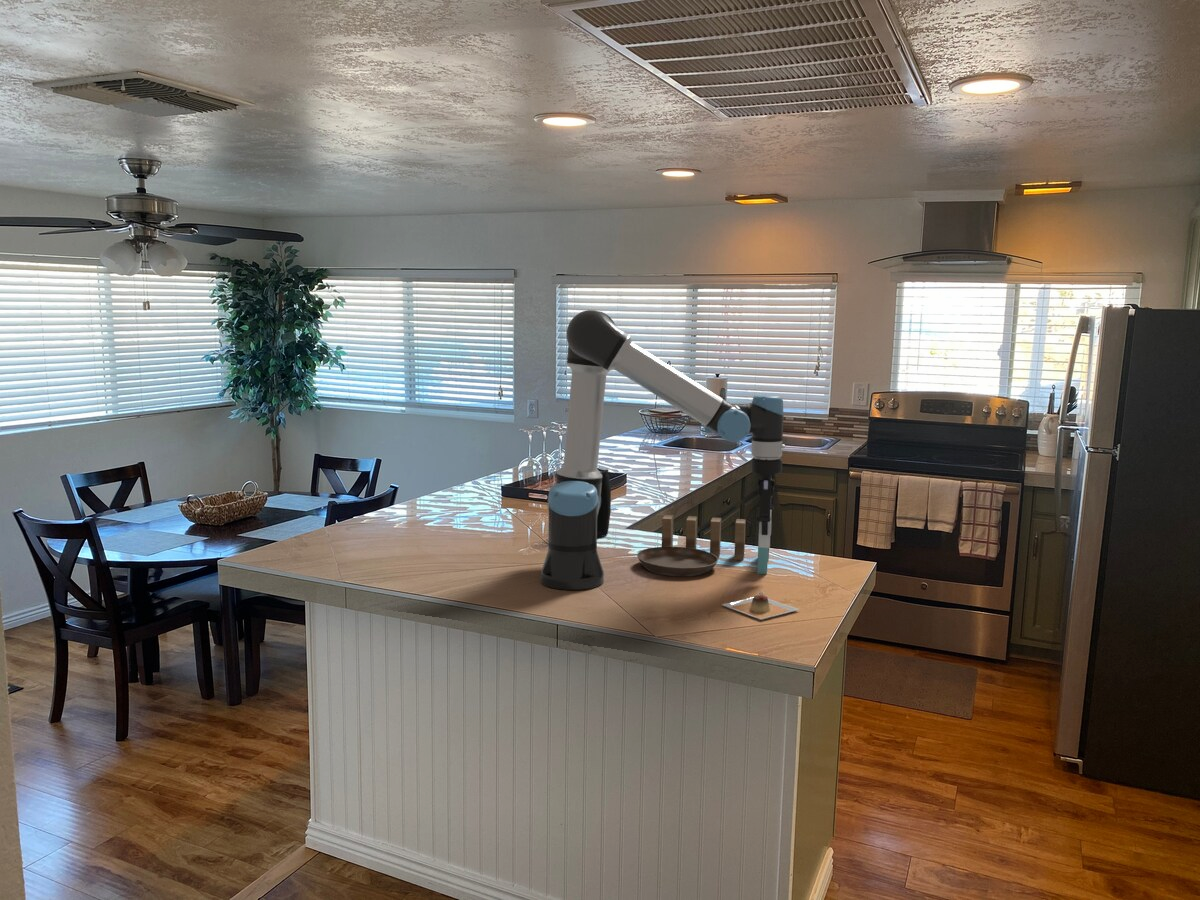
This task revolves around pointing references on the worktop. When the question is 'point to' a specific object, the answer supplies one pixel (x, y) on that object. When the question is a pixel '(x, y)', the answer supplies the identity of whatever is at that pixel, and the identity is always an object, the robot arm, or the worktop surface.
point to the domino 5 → (762, 560)
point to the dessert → (760, 605)
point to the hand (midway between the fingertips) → (765, 540)
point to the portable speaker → (604, 504)
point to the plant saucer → (677, 561)
